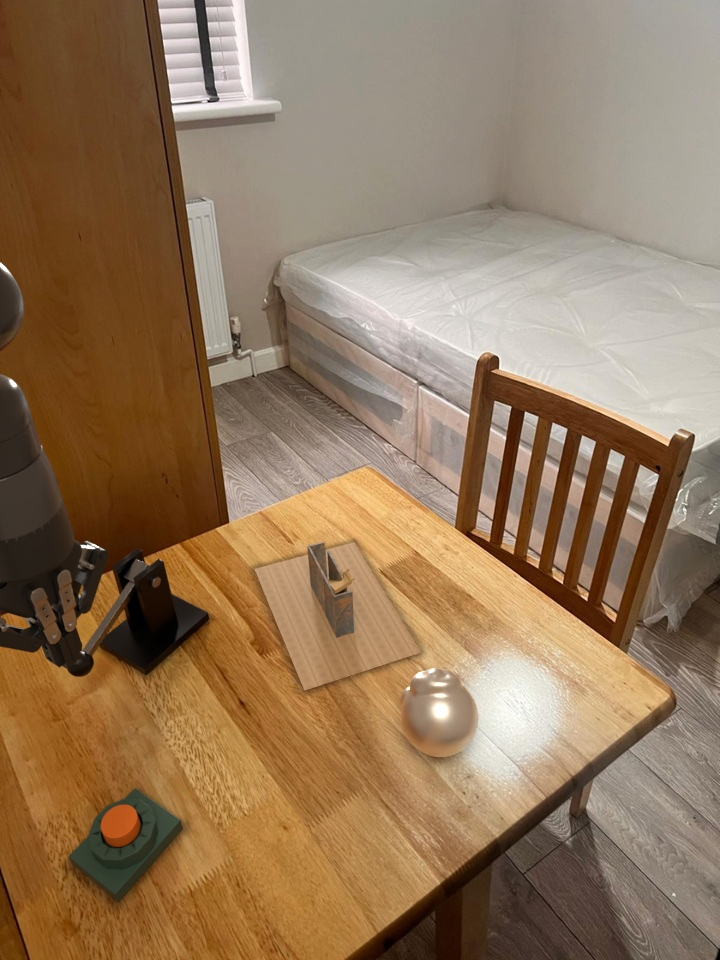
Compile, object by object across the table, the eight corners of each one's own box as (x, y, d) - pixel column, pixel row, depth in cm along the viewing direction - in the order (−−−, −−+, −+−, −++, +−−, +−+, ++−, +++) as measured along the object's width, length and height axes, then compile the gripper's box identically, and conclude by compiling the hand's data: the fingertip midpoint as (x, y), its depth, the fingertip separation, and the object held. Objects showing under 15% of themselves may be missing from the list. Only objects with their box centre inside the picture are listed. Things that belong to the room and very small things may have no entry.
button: (121, 854, 73) (117, 844, 72) (96, 835, 74) (93, 826, 73) (147, 825, 75) (144, 815, 74) (124, 807, 77) (120, 798, 76)
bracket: (146, 675, 95) (126, 605, 88) (100, 648, 99) (77, 578, 92) (209, 619, 103) (195, 550, 96) (164, 595, 108) (147, 527, 100)
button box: (118, 903, 72) (110, 885, 70) (72, 864, 75) (63, 846, 73) (183, 828, 78) (178, 810, 76) (138, 796, 81) (131, 777, 79)
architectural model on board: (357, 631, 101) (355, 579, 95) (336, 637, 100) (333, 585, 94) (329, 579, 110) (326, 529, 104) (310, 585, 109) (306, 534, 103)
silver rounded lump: (475, 707, 90) (480, 651, 84) (476, 776, 82) (482, 720, 77) (401, 701, 91) (402, 646, 85) (396, 769, 83) (396, 713, 78)
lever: (88, 684, 91) (73, 677, 88) (71, 673, 92) (56, 666, 90) (161, 574, 96) (148, 564, 94) (144, 565, 98) (131, 555, 95)
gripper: (51, 453, 62) (98, 601, 72) (-101, 537, 53) (-24, 692, 63) (110, 479, 59) (151, 631, 69) (-42, 573, 50) (30, 732, 60)
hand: (67, 660), depth 66 cm, fingers closed
